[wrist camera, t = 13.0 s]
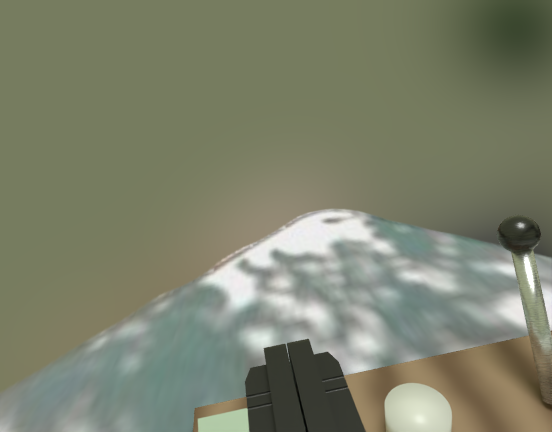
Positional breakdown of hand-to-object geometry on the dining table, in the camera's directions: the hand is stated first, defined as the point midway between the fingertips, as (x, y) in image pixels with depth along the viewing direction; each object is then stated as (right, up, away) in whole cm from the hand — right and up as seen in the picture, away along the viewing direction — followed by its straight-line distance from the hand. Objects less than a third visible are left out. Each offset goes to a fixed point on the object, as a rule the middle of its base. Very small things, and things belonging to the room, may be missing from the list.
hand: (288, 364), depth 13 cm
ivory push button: (+11, -14, +20) cm, 26 cm away
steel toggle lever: (+23, -11, +20) cm, 33 cm away
